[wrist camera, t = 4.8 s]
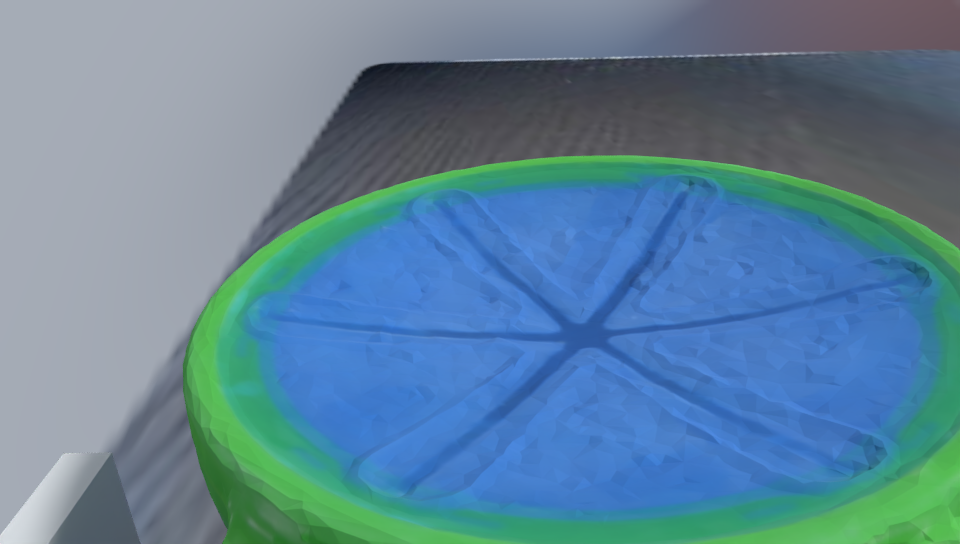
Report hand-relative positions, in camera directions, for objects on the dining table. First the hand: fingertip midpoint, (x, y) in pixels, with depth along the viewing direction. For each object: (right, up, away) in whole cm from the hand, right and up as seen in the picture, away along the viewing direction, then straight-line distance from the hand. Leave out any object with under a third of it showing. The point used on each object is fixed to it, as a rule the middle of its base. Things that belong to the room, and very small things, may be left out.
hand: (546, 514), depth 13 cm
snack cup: (+1, -6, +3) cm, 7 cm away
